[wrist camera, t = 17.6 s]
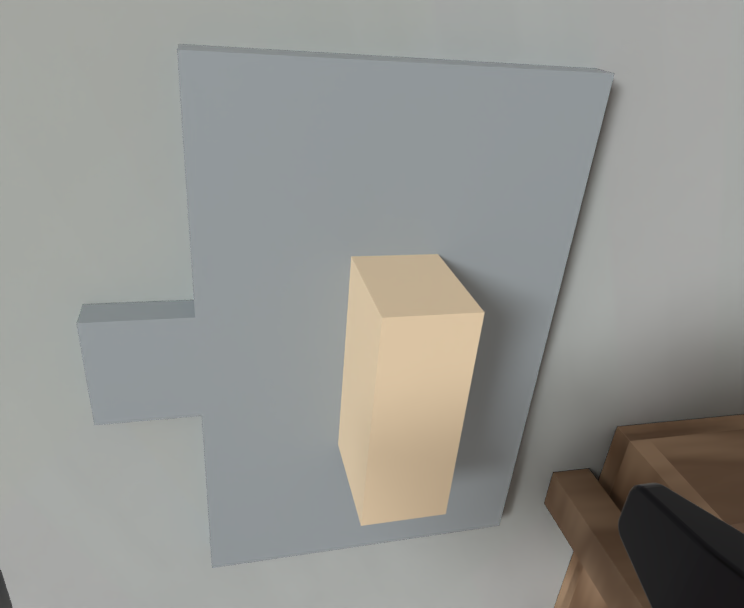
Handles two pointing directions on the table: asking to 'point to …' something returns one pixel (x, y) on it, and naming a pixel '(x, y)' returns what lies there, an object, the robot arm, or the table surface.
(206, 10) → the table surface
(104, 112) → the table surface
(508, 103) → the lid
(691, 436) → the brown wooden box
